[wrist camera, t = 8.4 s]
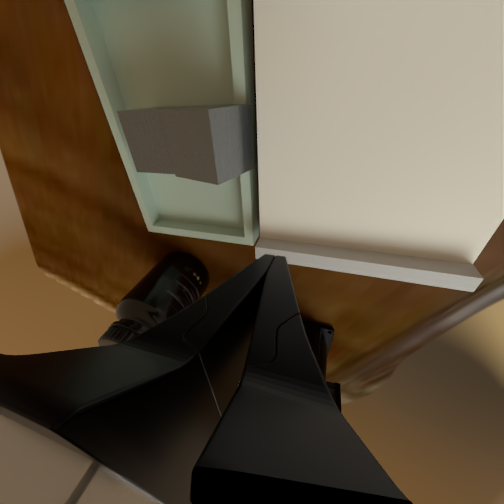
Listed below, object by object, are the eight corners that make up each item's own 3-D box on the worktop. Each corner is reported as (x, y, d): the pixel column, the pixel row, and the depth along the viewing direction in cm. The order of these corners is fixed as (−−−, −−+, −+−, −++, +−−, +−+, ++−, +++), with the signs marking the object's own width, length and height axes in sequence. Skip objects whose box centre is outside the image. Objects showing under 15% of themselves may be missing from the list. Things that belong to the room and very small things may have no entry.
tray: (258, 235, 23) (253, 245, 21) (159, 222, 26) (148, 231, 24) (250, -46, 12) (237, -66, 11) (85, -9, 15) (57, -19, 14)
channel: (447, 253, 18) (473, 292, 15) (268, 231, 22) (255, 258, 19) (662, -118, 8) (893, -265, 5) (268, -36, 12) (240, -83, 9)
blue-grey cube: (253, 168, 17) (218, 185, 14) (213, 162, 18) (175, 176, 16) (251, 103, 14) (208, 109, 12) (205, 104, 16) (159, 109, 13)
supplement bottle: (184, 293, 33) (123, 374, 23) (155, 256, 30) (73, 332, 21) (220, 286, 29) (166, 378, 20) (191, 244, 26) (113, 328, 17)
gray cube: (181, 174, 16) (136, 172, 17) (206, 160, 19) (167, 159, 20) (167, 109, 14) (116, 111, 15) (198, 105, 17) (154, 106, 18)
